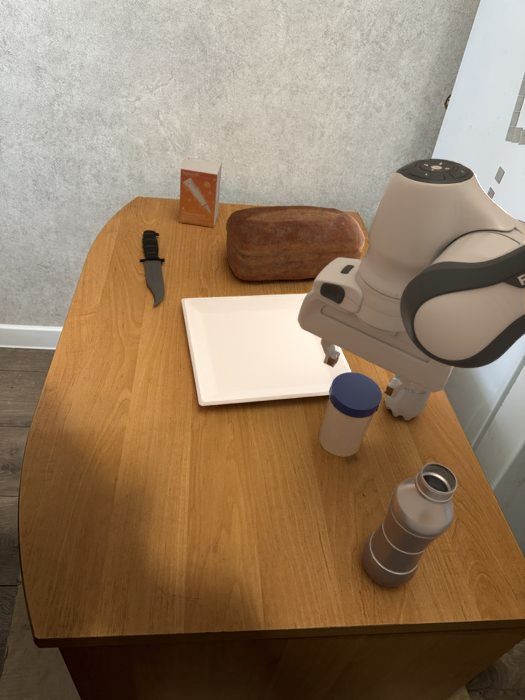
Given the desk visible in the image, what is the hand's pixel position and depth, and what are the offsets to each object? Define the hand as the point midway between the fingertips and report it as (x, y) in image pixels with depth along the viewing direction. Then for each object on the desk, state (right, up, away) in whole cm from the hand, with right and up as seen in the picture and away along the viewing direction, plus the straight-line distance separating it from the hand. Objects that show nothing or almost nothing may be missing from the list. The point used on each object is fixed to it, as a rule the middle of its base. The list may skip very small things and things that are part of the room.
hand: (360, 377), depth 71 cm
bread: (-7, +22, +42) cm, 47 cm away
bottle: (+10, -6, +15) cm, 19 cm away
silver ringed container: (+2, -24, -5) cm, 24 cm away
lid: (0, -2, +2) cm, 3 cm away
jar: (-1, -10, +9) cm, 13 cm away
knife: (-35, +20, +35) cm, 53 cm away
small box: (-28, +34, +51) cm, 67 cm away
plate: (-13, +4, +21) cm, 25 cm away
